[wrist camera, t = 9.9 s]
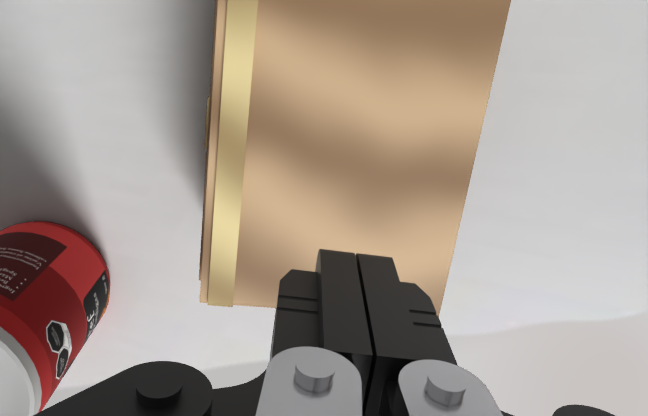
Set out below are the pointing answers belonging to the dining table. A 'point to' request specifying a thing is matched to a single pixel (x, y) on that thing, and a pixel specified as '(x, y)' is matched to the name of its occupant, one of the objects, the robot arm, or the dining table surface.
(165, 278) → the dining table surface
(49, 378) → the canned food
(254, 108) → the lid
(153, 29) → the dining table surface
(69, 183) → the dining table surface
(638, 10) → the dining table surface
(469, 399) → the robot arm
